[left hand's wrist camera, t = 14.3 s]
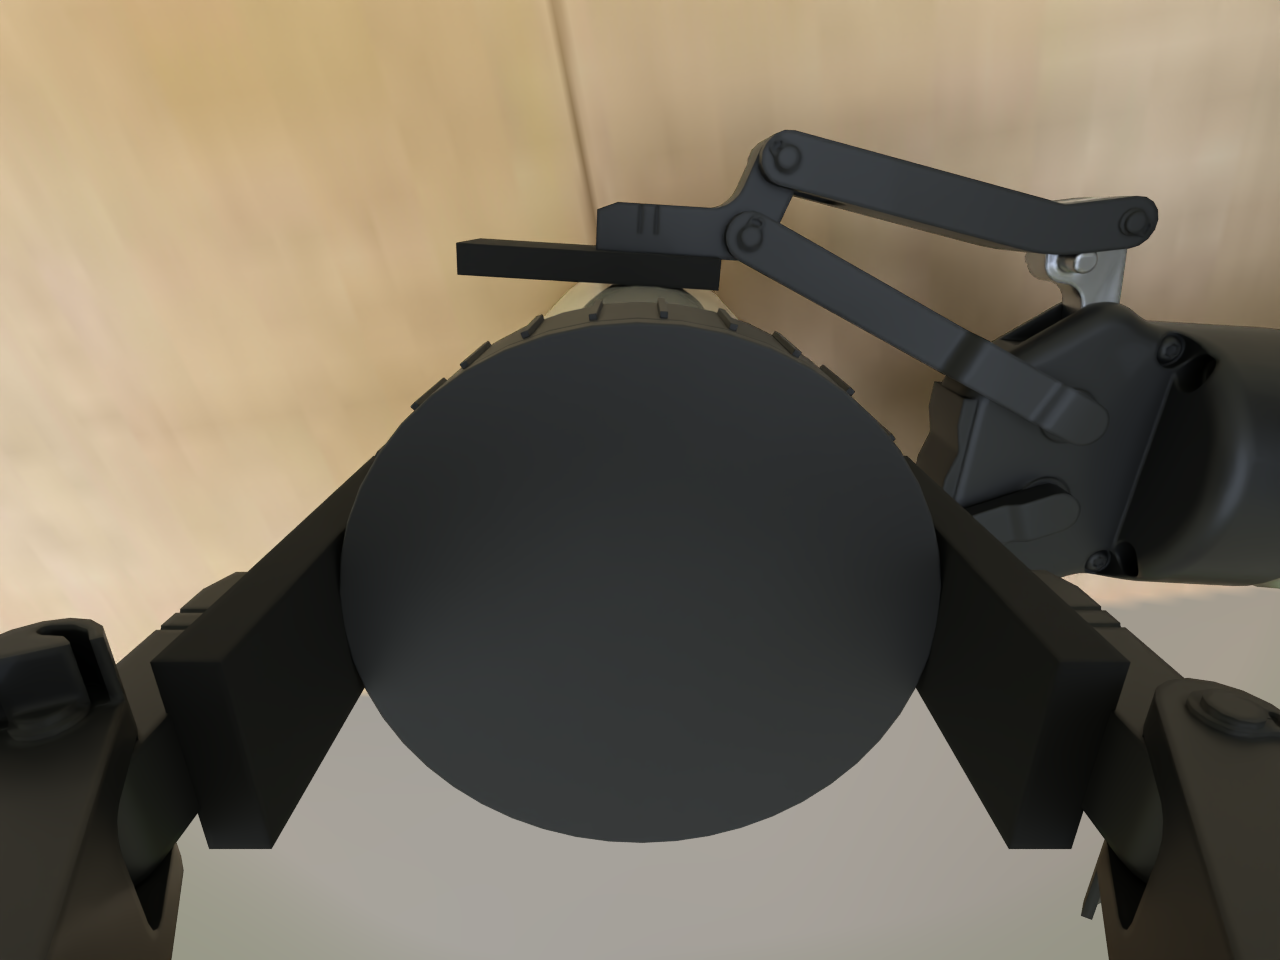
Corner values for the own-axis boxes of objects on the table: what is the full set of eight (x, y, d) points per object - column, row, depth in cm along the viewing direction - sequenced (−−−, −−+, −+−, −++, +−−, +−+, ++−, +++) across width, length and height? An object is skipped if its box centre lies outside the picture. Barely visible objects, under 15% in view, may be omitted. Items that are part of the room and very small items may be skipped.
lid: (453, 779, 14) (423, 871, 12) (316, 339, 11) (242, 369, 9) (896, 730, 14) (939, 818, 12) (895, 256, 10) (955, 266, 8)
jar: (512, 283, 25) (312, 397, 10) (733, 245, 24) (887, 302, 9) (558, 485, 28) (460, 817, 13) (755, 454, 27) (901, 762, 12)
